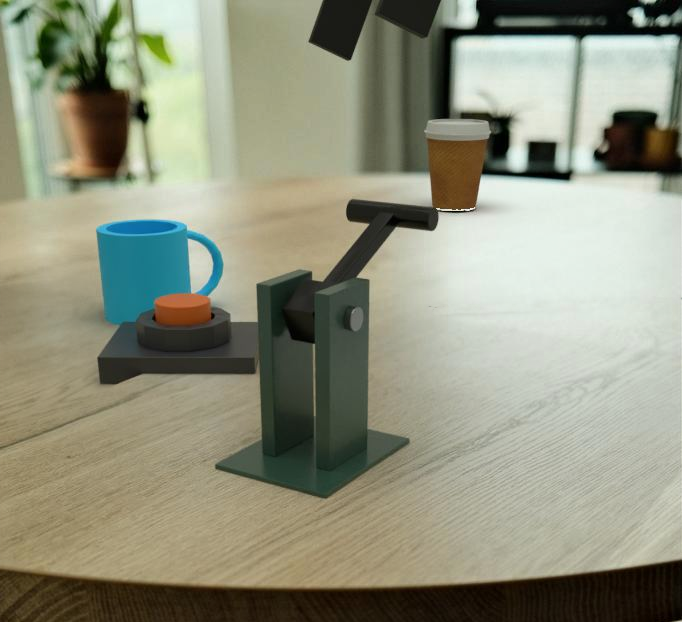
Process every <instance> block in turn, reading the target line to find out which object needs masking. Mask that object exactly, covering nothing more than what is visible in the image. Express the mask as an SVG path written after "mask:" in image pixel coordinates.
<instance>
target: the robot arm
mask: <svg viewBox="0 0 682 622" xmlns="http://www.w3.org/2000/svg"><path fill="white" fill-rule="evenodd" d="M372 2H373V0H322V1H321V4H320V7H319V10H318V13H317V16H316V20H315V22H314V24H313V26H312V30H311V32H310V36H309V38H308V43H310V44H311V45H313V46H315V47H317V48H319V49H321V50H324V51H326V52H328V53H330V54H332V55H334V56H336V57H338V58H340V59H343V60H344V61H347V62H349V61H352V59H353V56H354V53H355V50H356V48H357V44H358V42H359V39H360V37H361V34H362V30H363V28H364V25H365V23H366V21H367V20H366V19H367V17H368V14H369V11H370V8H371V6H372V4H373V3H372ZM441 2H442V0H379V1H378V4H377V6H376V8H375V12H374V16H376V17H378V18H380V19H382V20H384V21H386V22H387V23H390V24H392V25H394V26H396V27H398V28H399V29H402V30H403V31H405V32H407V33H409V34H412V35H414V36H416V37H418V38H419V39H422V40H423V39H427V38H428V37H429V34H430V32H431V29H432V27H433V23H434V21H435V18H436V15H437V13H438V10H439V8H440V5H441Z"/></svg>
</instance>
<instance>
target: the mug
mask: <svg viewBox="0 0 682 622" xmlns="http://www.w3.org/2000/svg"><path fill="white" fill-rule="evenodd" d="M95 233H96V242H97V253H98V262H99V272H100V281H101V291H102V298H103V310H104V318H105V320H106V321H107V322H109V323H111V324H113V325H117V326H120V325H121V324H122V322H136V319H137V317H138V316H139V314H140V313H143V312H145V311H148V310H151V309H154V308H155V304H154V301H155V300H156V299H157V298H159V297H162V296H165V295H170V294H180V293H191V294H192V286H191V270H190V269H191V267H190V255H189V254H190V253H189V240H191V241H195V242H197V243H199V244H201V245H202V246H203V247H205V248H206V250H207V251H208V253H209V254H210V256H211V260H212V271H211V274H210V277H209V279H208V280H207V282H206V283H205V284H204V285H203V286H202V288H201V289H199V290H198V291H196V292H195V293H194V294H200V295H204V296H207V297H209V296H210V295H211V294H212V293H213V291H214V290H215V289H217V287H218V285H219V284H220V282H221V279H222V277H223V273H224V272H223V271H224V260H223V256H222V252H221V251H220V249H219V248H218V246H217V245H216V243H215V242H214V241H212V240H211V239H210V238H208V237H207V236H206V235H204V234H202V233H200V232H197V231H193V230H188V225H187V224H185V223H184V222H181V221H177V220H171V219H170V220H169V219H153V218H151V219H150V218H149V219H147V218H146V219H142V218H141V219H128V220H127V219H126V220H119V221H112V222H108V223H103V224H101V225H98V226H96V229H95Z"/></svg>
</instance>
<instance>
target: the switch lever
mask: <svg viewBox="0 0 682 622" xmlns="http://www.w3.org/2000/svg"><path fill="white" fill-rule="evenodd" d="M345 215H346V216H345V217H346V219H347V221H349V223H357V224H364V225H365V224H366V225H367V227H366V228H365V229H364V230H363V232H362V233H361V234H360V235H359V236H358V237H357V239H356V240H355V241H354V242H353V244H352V245H351V246H350V248H348V250H347V251H346V252H345V254H344V255H343V256H342V257H341V258H340V260H339V261H338V262H337V263H336V265H334V267H333V268H332V269H331V270H330V272H329V273H328V275H327V276H325V278H324V279H323V281H321V280H315V279H312V280H309V279H305V280H304V281H303V282H302V283H301V284H300V286H299V287H298V288H297V289H296V290H295V292H294V293H293V294H292V295H291V296H290V298H289V299H288V300H287V301H286V302H285V304H284V305H283V306H282V307H281V309H282V312H283V315H284V318H285V321H286V324H287V327H288V330H289V333H290V336H291V339H292V340H296V341H301V342H306V343H312V344H313V345H315V306H314V293H315V292H318V291H321V290H323V289H326V288H329V287H331V286H334V285H337V284H339V283H342V282H345V281H347V280H350V279H353V278H355V277H356V278H358V276H359V275H360V273H361V272H362V271H363V270H364V269H365V268H366V266H367V265H368V264H369V263H370V261H371V260H372V259H373V257H374V256H375V255H376V254H377V252H378V251H379V250H380V249H381V248H382V246H383V245H384V243H385V242H386V241H387V240H388V239H389V237H390V236H391V234H392V233H393V232H394V231H395V230H396V228H400V229H406V230H407V229H409V230H416V231H418V230H419V231H424V232H425V231H426V232H434V231H435V230H436V229H437V227H438V224H439V218H440V217H439V216H440V215H439V211H438V210H437V209H436V208H435V207H432V206H425V205H417V204H407V203H406V204H405V203H395V202H386V201H376V200H368V199H359V198H358V199H357V198H350V200H349V201H348V202H347V204H346V207H345Z"/></svg>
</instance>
